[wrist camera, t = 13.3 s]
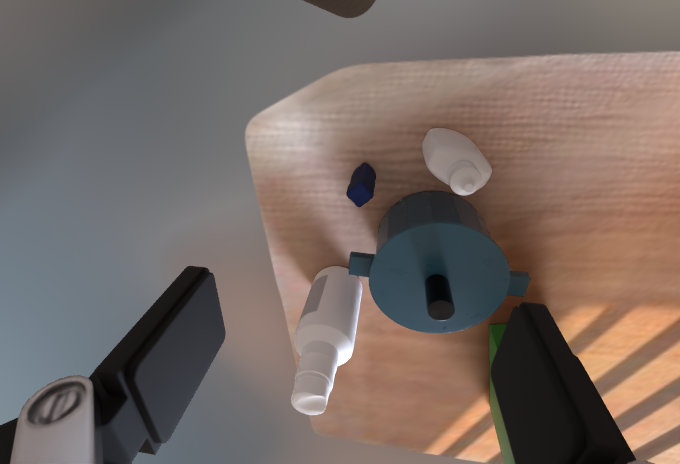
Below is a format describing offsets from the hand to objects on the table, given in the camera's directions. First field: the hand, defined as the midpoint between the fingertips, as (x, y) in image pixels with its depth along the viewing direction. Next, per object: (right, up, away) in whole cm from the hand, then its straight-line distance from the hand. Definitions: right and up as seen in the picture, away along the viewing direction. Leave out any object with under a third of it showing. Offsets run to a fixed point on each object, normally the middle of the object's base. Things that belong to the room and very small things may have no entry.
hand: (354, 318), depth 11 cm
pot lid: (+9, -2, +23) cm, 25 cm away
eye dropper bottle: (+11, +12, +25) cm, 30 cm away
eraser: (+2, +10, +28) cm, 30 cm away
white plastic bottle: (-1, -5, +37) cm, 37 cm away
